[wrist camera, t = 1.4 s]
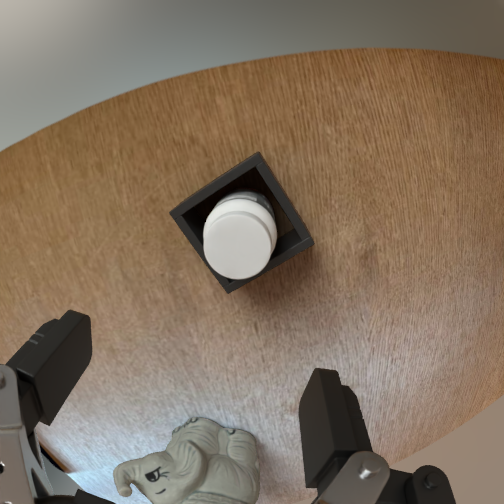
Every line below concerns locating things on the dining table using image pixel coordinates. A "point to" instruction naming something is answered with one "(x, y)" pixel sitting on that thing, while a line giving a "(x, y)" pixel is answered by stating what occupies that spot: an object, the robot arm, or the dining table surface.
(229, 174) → the holder
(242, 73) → the dining table surface
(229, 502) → the elephant cookie jar
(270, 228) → the pill bottle
